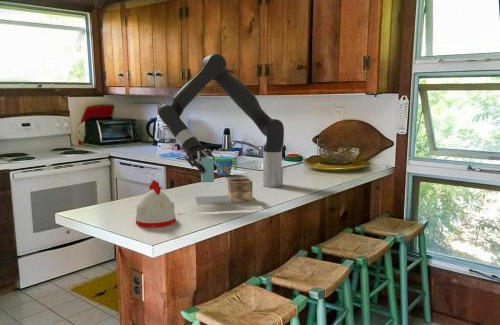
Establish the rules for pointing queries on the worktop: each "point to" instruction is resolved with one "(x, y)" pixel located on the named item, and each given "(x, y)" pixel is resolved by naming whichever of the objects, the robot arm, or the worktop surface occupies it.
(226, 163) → the snack cup
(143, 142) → the worktop surface
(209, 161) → the teal brick
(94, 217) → the worktop surface
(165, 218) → the kitchen timer
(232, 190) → the wooden crate
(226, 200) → the baseplate
